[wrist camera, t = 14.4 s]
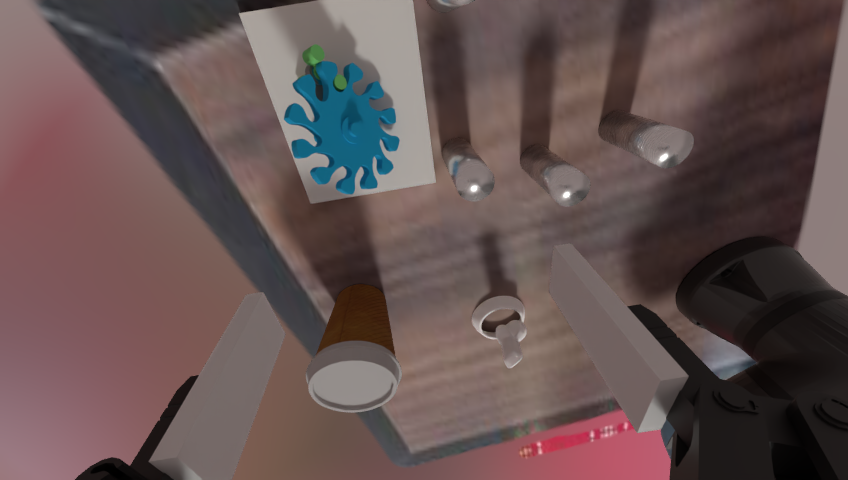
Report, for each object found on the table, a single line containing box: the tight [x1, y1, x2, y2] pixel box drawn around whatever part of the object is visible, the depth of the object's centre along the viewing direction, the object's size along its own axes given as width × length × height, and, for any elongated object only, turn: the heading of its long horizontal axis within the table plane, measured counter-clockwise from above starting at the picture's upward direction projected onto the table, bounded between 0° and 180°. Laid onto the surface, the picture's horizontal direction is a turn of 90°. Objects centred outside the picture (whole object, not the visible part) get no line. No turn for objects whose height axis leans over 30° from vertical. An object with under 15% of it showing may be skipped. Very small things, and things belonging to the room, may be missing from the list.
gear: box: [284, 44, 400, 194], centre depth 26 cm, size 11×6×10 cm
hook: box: [472, 296, 527, 368], centre depth 41 cm, size 8×12×7 cm
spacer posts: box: [426, 0, 694, 206], centre depth 25 cm, size 19×18×8 cm
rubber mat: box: [239, 0, 436, 204], centre depth 28 cm, size 13×16×1 cm
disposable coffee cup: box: [306, 284, 402, 412], centre depth 36 cm, size 10×10×12 cm
